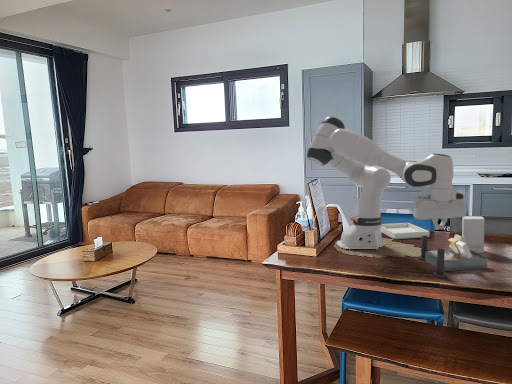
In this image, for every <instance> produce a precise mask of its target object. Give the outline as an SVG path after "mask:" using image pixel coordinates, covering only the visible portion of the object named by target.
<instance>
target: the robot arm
mask: <svg viewBox="0 0 512 384" xmlns="http://www.w3.org/2000/svg"><path fill="white" fill-rule="evenodd" d="M306 158H307V159H308V160H309V161H310V162H311V163H312V164H314V165H316V166H321V167H322V166H326V165H328V166H330V167H331V168H332V169H334V170H335V171H337V172H339V173H340V174H342V175H343V176H344V177H346V178H347V179H348V181H350V183H352V184H353V185H355V187H358V188H362V189H361V193H360V196H359V197H358V198H357V200H356V215H355V216H352V215H351V216H350V217H349V220H351V222H352V224H351V225H350V226H348V227H347V228H346V229H344V230H343V231H342V233H341V236H340V240H337V241H336V245H337V247H339V248H340V249H342V248H343V250H346V249H349V250H350V249H376V250H379V249H380V248H383V246H384V242H383V241H384V240H383V237H382V236H383V235H382V232H381V224H383V223H382V220H383V219H382V216H381V208H382V205H381V204H382V198H383V194H384V191H385V189H386V188H387V187H388V186H389V185H390V183H391V180H392V179H391V174H390V172H392V173H394V174H396V175H397V176H398V177H399V178H400V179H401V180H402V181H403V182H404V183H406V184H407V185H409V186H410V187H412V188H420V187H425V186H427V194H426V195H418V196H417V197H415V199H414V202H413V203H414V206H413V214H412V215H413V217H414V219H415V220H420V221H421V220H422V221H423V220H431V221H432V223H433V224H434V229H435V230H436V231H437V230H445V225H446V223H448V219H452V218H453V219H458V218H462V217H465V216H467V205H468V204H467V201H466V200H465V199H466V197H467V195H466V193H463V192H458V191H456V190H454V186H453V179H454V163H453V162H454V161H453V158H452V157H451V156H450V155H448V154H444V153H435V152H434V153H431V154H430V155H428V156H426V157H425V158H422V159H420V160H418V161H417V160H405V159H401V158H399V157H397V156H395V155H392V154H390V153H388V152H386V151H384V150H383V149H382V148H381V147H380V146H379V145H378V144H377V143H376V142H375V141H373V140H372V139H370V138H369V137H367V136H365V135H363V134H360V133H358V132H355V131H353V130H349V129H346V128H345V124H344V122H343V121H342V120H341V119H339V118H338V117H335V116H326V117H325V118H324V119H323V120H322V121H321V123H320V126H318V129H317V130H316V132H315V133H314V137H313V138H312V141H311V143H310V146H309V148H308V149H307V152H306ZM439 220H441V221H440V224H439V223H438V222H439ZM379 247H380V248H379ZM350 251H351V250H350Z"/></svg>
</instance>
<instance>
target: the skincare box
mask: <svg viewBox="0 0 512 384" xmlns="http://www.w3.org/2000/svg"><path fill="white" fill-rule="evenodd" d="M461 218H462V221H461V222H462V223H461V227H462V229H461V230H462V231H461V236H462V237H464V238H465V240H464V241H463V242H464V243H466V244H467V246H468V248H469V250H472V251H474V252H477V253H479V254H484V253H485V218H484V217H483V216H479V215H478V216H476V215H473V216H471V215H469V216H468V215H466V216H465V217H461Z"/></svg>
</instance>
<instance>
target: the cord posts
mask: <svg viewBox="0 0 512 384" xmlns="http://www.w3.org/2000/svg"><path fill="white" fill-rule="evenodd" d="M428 238H429V237H428V236H426V235H422V236H421V238H420V239H421V240H420V243H421V245H420V247H421V249H420V255H418V257H417V258H418V260H420V261H425V252H426V251H428V244H429V243H428V242H429V241H428ZM445 250H446V249H443V248H437V250H436V251H437V267H436V271H435V272H433V277H435V278H438V279H446V278H447V277H448V274H447V273H446V272H445V271H444V254H445Z"/></svg>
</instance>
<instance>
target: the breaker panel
mask: <svg viewBox="0 0 512 384" xmlns="http://www.w3.org/2000/svg"><path fill="white" fill-rule="evenodd" d="M444 250H445V254H444V272H453V271H467V270H480V269H482V270H483V269H484V270H485V269H488V263H489V258H488V257H487V256H486V255H484V254H482V253H477V252H474V251H472V250H470V252H471V254H472V257H471V258H469V259H468V258H466V257H463V256H462V255H459V254H457V253H455V252H454V251H453V249H444ZM424 262H426V263H428V264H430V265H432V266H433V267H435V268H437V250H427V251H426V252H425V260H424Z"/></svg>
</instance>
